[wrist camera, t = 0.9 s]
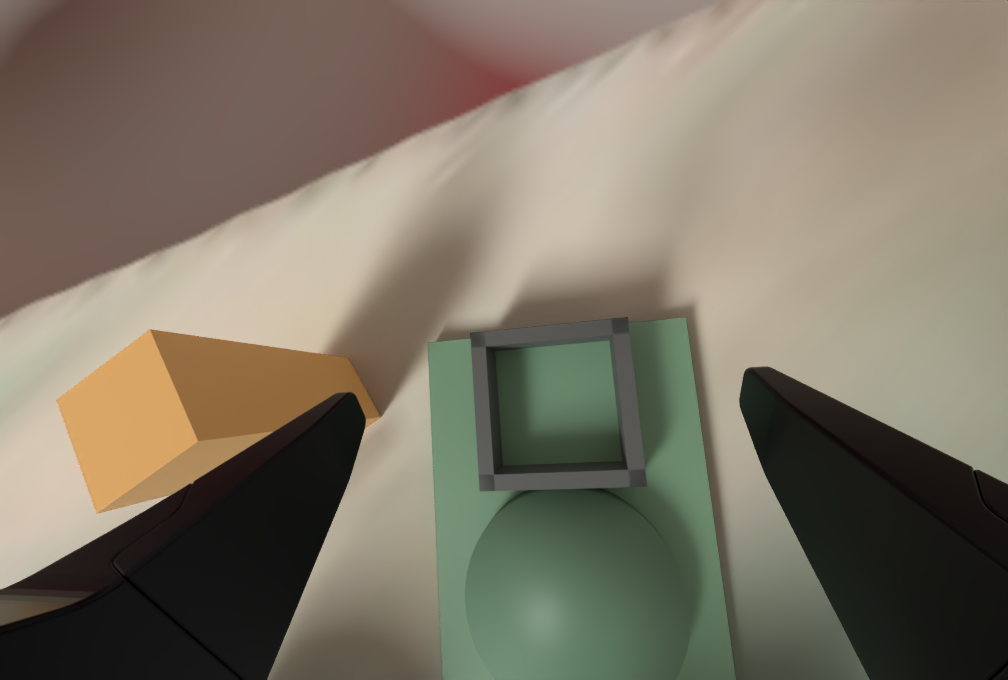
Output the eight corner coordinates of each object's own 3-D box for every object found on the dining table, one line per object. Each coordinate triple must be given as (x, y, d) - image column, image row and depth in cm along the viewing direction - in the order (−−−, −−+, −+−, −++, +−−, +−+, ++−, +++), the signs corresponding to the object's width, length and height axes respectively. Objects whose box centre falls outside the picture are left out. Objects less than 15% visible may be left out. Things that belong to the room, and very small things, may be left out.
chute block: (380, 417, 25) (198, 441, 13) (324, 455, 26) (96, 513, 14) (347, 356, 26) (148, 326, 14) (293, 394, 27) (55, 396, 15)
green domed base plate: (734, 709, 20) (766, 776, 16) (449, 692, 22) (426, 745, 19) (681, 320, 23) (699, 307, 19) (433, 344, 25) (410, 337, 22)
